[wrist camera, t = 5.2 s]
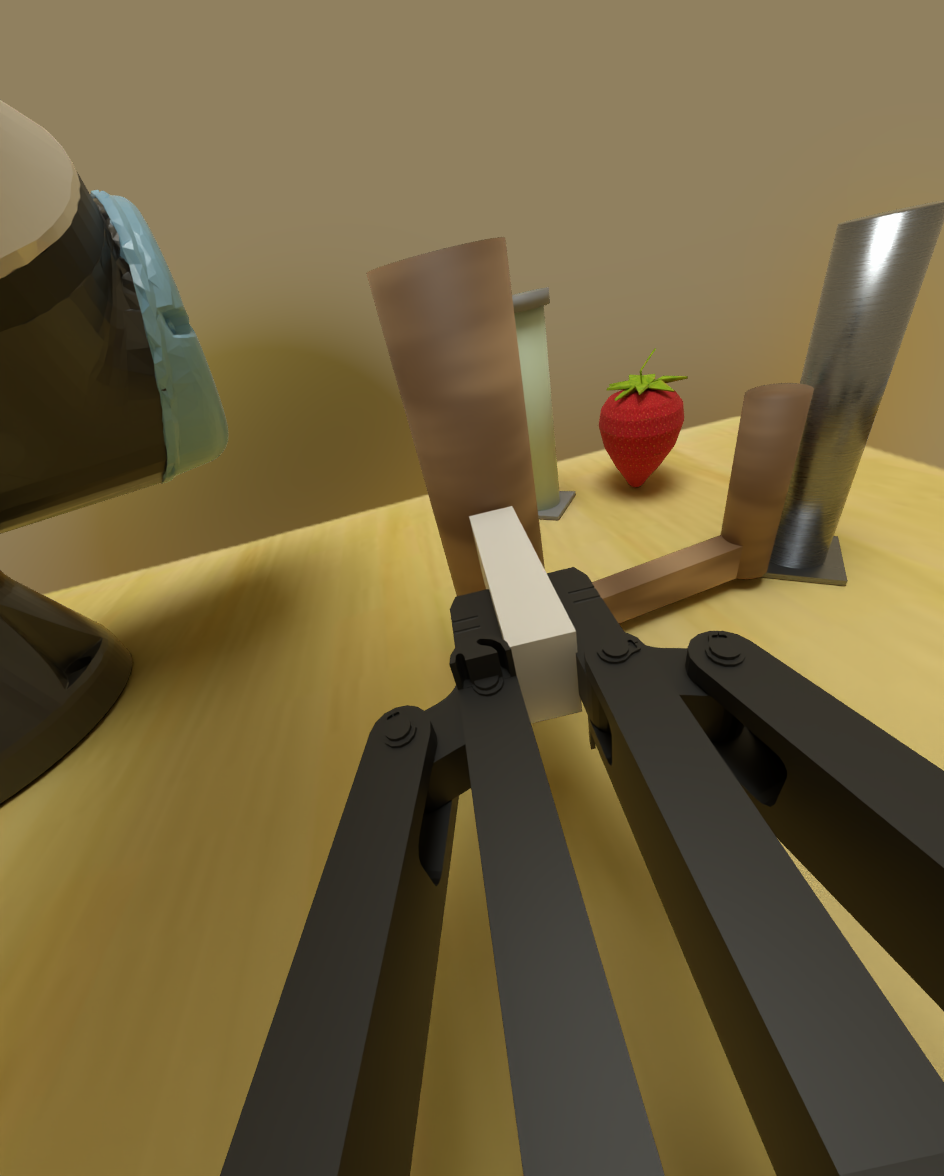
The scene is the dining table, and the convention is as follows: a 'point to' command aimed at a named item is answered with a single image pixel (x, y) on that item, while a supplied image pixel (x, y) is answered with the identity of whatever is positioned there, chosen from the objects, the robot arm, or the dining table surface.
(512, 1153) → the dining table surface
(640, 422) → the strawberry
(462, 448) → the brown uneven u-shaped piece
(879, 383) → the hinge post
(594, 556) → the dining table surface
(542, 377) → the post
